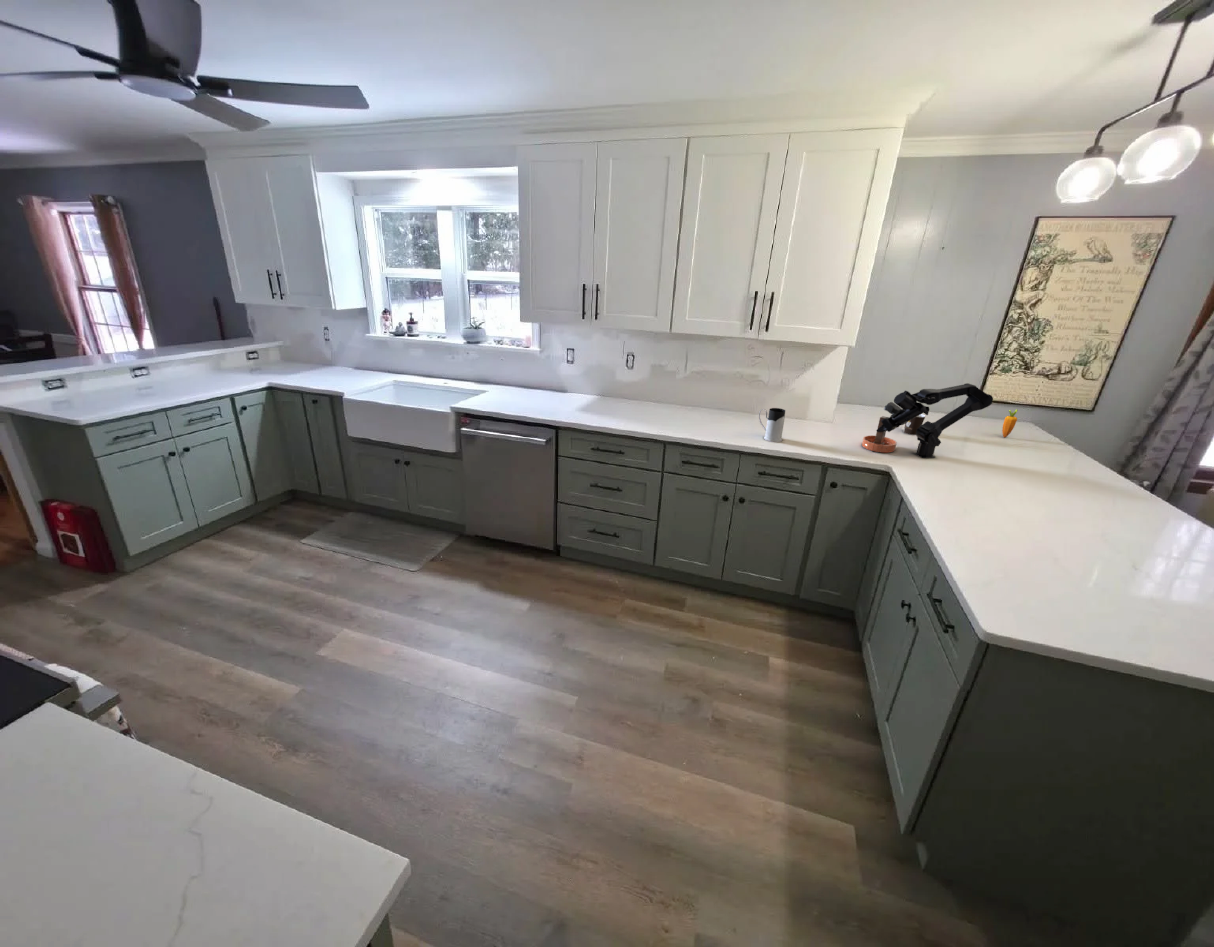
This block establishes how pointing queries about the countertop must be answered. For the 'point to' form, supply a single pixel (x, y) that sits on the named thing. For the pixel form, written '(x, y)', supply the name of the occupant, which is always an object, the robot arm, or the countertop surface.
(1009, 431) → the carrot
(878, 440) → the brown wooden block
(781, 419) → the white pitcher
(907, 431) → the coffee mug
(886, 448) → the bowl
